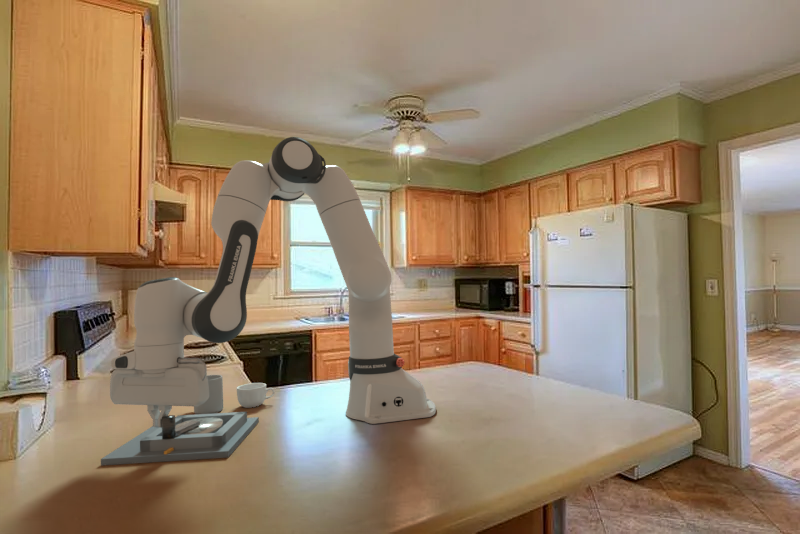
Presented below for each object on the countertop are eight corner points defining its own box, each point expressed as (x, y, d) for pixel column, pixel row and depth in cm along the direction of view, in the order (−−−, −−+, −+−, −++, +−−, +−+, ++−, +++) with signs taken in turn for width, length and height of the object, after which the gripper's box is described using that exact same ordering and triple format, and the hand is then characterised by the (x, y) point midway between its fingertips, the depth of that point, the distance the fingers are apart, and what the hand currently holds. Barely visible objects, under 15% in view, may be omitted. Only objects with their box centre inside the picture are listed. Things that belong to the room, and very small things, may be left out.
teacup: (234, 411, 115) (233, 390, 116) (240, 403, 123) (239, 384, 123) (273, 407, 117) (272, 387, 117) (276, 400, 125) (275, 381, 125)
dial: (196, 425, 100) (195, 398, 100) (232, 427, 97) (232, 399, 97) (144, 449, 86) (143, 417, 87) (185, 452, 84) (184, 420, 84)
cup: (213, 415, 112) (212, 380, 112) (178, 415, 113) (177, 381, 114) (228, 407, 119) (227, 374, 120) (195, 407, 121) (194, 375, 121)
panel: (258, 422, 105) (258, 407, 105) (228, 457, 84) (227, 439, 84) (157, 428, 104) (157, 413, 104) (100, 465, 83) (100, 447, 83)
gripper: (215, 355, 89) (216, 423, 88) (129, 354, 92) (129, 420, 92) (195, 360, 83) (196, 434, 82) (103, 360, 86) (103, 430, 86)
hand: (160, 426), depth 87 cm, fingers closed
